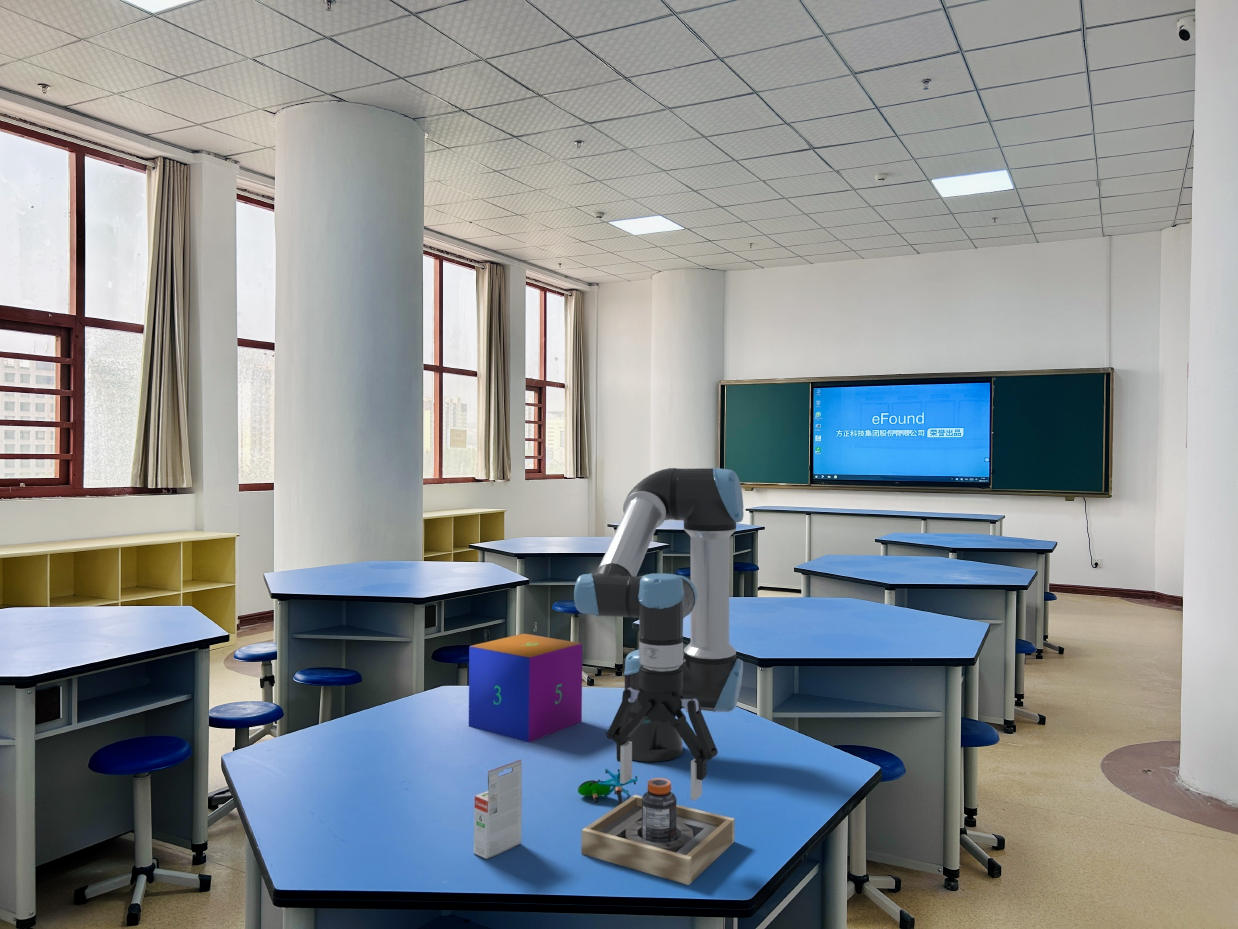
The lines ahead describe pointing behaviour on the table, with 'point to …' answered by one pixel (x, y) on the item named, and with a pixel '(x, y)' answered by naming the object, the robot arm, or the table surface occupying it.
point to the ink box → (499, 812)
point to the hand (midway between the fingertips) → (660, 789)
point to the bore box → (674, 860)
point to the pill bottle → (659, 812)
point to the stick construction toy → (605, 787)
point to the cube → (525, 686)
